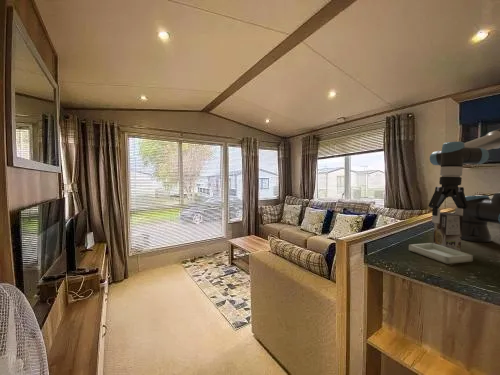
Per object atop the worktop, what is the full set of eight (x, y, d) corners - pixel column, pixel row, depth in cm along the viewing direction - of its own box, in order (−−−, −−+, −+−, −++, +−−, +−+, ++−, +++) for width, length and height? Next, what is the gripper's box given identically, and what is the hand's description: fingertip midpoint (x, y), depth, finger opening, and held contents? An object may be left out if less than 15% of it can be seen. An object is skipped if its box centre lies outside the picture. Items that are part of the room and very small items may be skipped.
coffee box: (461, 251, 100) (463, 215, 99) (444, 250, 101) (446, 214, 100) (447, 245, 109) (449, 212, 108) (432, 244, 110) (434, 211, 109)
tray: (431, 248, 104) (431, 242, 104) (472, 261, 88) (473, 255, 88) (408, 250, 101) (408, 244, 101) (447, 264, 85) (447, 257, 85)
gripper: (461, 176, 109) (458, 220, 111) (420, 175, 104) (417, 221, 105) (480, 177, 102) (476, 223, 103) (437, 175, 96) (434, 224, 97)
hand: (447, 222), depth 104 cm, fingers open, 13 cm apart
